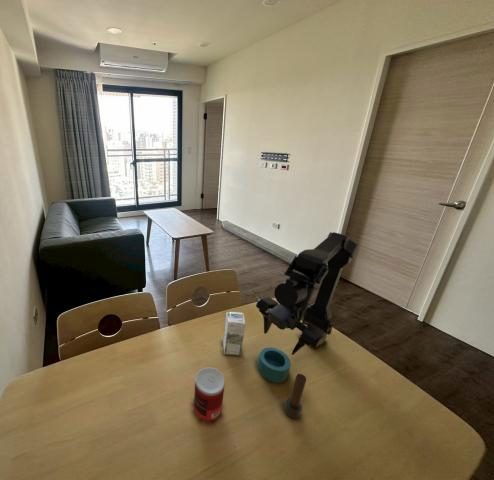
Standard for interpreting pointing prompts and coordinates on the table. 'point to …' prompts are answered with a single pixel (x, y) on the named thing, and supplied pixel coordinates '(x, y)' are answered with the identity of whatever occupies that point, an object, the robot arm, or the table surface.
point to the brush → (295, 398)
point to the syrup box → (233, 333)
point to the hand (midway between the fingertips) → (278, 343)
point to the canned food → (208, 394)
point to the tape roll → (273, 364)
